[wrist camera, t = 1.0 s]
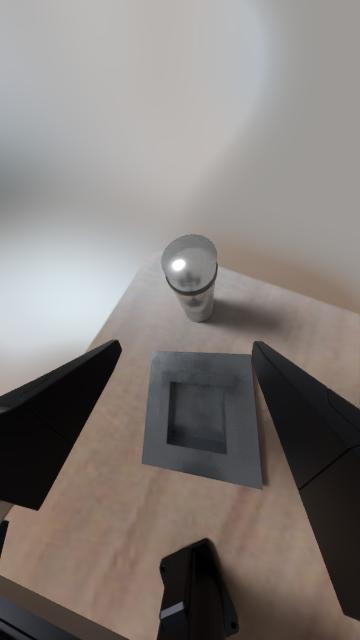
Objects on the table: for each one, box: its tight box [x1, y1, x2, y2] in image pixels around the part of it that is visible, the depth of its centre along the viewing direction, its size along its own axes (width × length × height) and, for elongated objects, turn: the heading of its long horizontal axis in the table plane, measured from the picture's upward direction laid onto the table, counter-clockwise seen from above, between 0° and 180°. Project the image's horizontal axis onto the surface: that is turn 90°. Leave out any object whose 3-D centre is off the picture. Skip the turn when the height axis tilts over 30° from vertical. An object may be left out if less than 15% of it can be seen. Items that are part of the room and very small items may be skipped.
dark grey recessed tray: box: [142, 351, 263, 490], centre depth 18 cm, size 15×15×4 cm
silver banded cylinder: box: [161, 235, 218, 322], centre depth 18 cm, size 5×5×13 cm
